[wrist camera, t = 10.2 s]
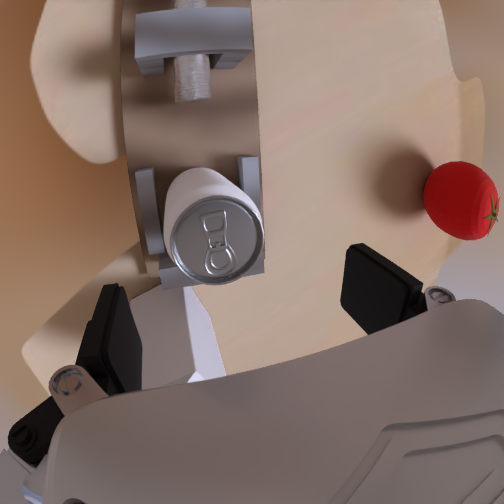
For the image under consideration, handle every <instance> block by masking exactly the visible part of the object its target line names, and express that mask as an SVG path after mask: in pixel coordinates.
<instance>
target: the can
mask: <svg viewBox="0 0 504 504" xmlns="http://www.w3.org/2000/svg"><path fill="white" fill-rule="evenodd" d="M164 242H165V246H166V249H167V252H168V254H169V256H170V258H171V259H172V261H173V262H174V263H175V264H176V265H177V267H178V268H179V270H180V271H181V272H182V273H183V274H184V275H186V276H187V277H188V278H190V279H192V280H193V281H196V282H198V283H201V284H206V285H223V284H227V283H231V282H233V281H236V280H238V279H239V278H241V277H243V276H244V275H245V274H247V273H248V272H249V271H250V270H251V269H252V268H253V267H254V265H255V264H256V263H257V261H258V259H259V257H260V255H261V253H262V250H263V245H264V230H263V226H262V219H261V216H260V213H259V211H258V209H257V207H256V205H255V204H254V202H253V201H252V200H251V199H250V197H249V196H247V195H246V194H245V193H244V192H243V191H242V190H241V189H239V188H238V187H237V186H235V185H234V184H233V183H232V182H230V181H229V180H228V179H226V178H225V177H224V176H222V175H221V174H219V173H218V172H216V171H214V170H212V169H208V168H192V169H189V170H186V171H184V172H183V173H181V174H180V175H178V176H177V177H176V178H175V179H174V180H173V182H172V183H171V185H170V187H169V189H168V192H167V196H166V204H165V214H164Z"/></svg>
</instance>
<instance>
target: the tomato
mask: <svg viewBox="0 0 504 504" xmlns="http://www.w3.org/2000/svg"><path fill="white" fill-rule="evenodd" d="M423 200H424V205H425V208H426V211H427V213H428V215H429V216H430V218H431V220H432V221H433V222H434V223H435V224H436V225H437V226H438V227H439V228H440V229H441V230H443V231H444V232H446V233H448V234H450V235H452V236H454V237H456V238H459V239H463V240H477V239H480V238H483V237H484V236H485V235H486V234H489V232H490V230H491V229H492V227H493V225H494V223H495V221H496V220H497V215H498V211H499V199H498V193H497V190H496V187H495V185H494V183H493V181H492V180H491V179H490V177H489V176H488V175H487V174H486V173H485V172H484V171H483V170H482V169H480V168H479V167H477V166H475V165H473V164H471V163H467V162H462V161H459V162H449V163H446V164H443V165H441V166H439V167H437V168H436V169H434V170H433V171H432V172H431V174H430V175H429V177H428V178H427V181H426V183H425V187H424V193H423ZM497 221H498V220H497Z"/></svg>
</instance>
